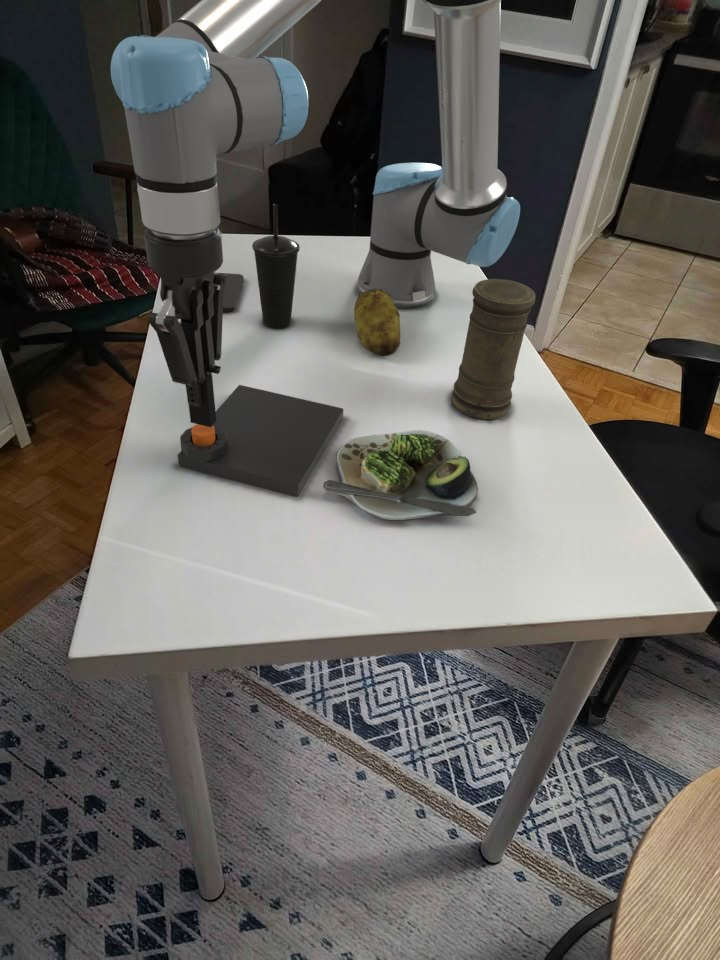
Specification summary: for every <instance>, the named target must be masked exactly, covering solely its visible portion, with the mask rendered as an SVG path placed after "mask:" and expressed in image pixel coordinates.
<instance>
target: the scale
mask: <svg viewBox="0 0 720 960" xmlns="http://www.w3.org/2000/svg"><path fill="white" fill-rule="evenodd" d="M215 411H216V422H215V423H214V424H213V426H214V428H215V439H216V440H215V442H214V444H211V445H209V446H198V445H195V444H194V443H193V440H192V431H191V429H192V427H190V428H186V429H185V430H184V432H182V434H181V435H180V436H179V439H180V440H179V441H180V442H179V443H180V449H181V450H180V452H178V454H177V462H178V467H179V468H184V469H188V470H191V471H196V472H200V473H203V474H207V475H212V476H215V477H218V478H223V479H227V480H229V481H234V482H238V483H243V484H246V485H250V486H252V487H253V486H254V487H259V488H260V489H261V488H262V489H266V490H269V491H273V492H276V493H281V494H285V495H288V496H293V497H299V496H300V494H301V492H302V491H303V488H304V487H305V485H306V483H307V482H308V480H309V478H311V477H310V476H311V475H312V473H313V471H314V470H315V468H316V466H317V465H318V463H319V461H320V459H321V457H322V456H323V454H324V453H325V451H326V450H327V448H328V445H329V444H330V443H331V441H332V440H333V437H334V436H335V434H336V432H337V431H338V429H339V427H340V425H341V423H342V421H343V420H344V408H343V407H339V406H334V405H331V404H326V403H322V402H318V401H317V402H316V401H312V400H308V399H304V398H299V397H295V396H290V395H285V394H282V393H278V392H273V391H270V390H269V391H268V390H264V389H259V388H256V387H251V386H248V385H242V384H239V385H237V386H236V388H235V389H234V390H233V391H232V393H230V395H228V397H227V398H226V399H225V400H224V401H223V402H222V404H221V405H220V406H219V407H218V408H217V409H216V410H215Z"/></svg>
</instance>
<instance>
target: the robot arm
mask: <svg viewBox="0 0 720 960" xmlns="http://www.w3.org/2000/svg"><path fill="white" fill-rule="evenodd" d="M321 2H322V0H200V1H198V3H196V4H195V5H193V7H191V8H190V9H189V10H188V11H186V12H185V13H184V14H182V15H181V16H180V17H179V18H178V19H177V20H175V22H173V23H171V24H170V25H169V26H168V27H166V28H165V29H164V30H163V31H161V32H160V33H159V34H157V35H156V36H151V35H150V36H149V35H144V34H141V35H139V36H137V35H133V36H128V37H126V38H124V39H123V40H121V41H120V42H119V43H118V44H117V46H116V47H115V49H114V51H113V53H112V56H111V61H110V77H111V82H112V86H113V88H114V89H113V90H114V91H115V93H116V96H117V97H118V98H119V100H120V101H121V102H122V106H123V108H124V114H125V120H126V126H127V133H128V138H129V144H130V151H131V156H132V157H131V158H132V163H133V169H134V175H135V181H136V185H137V190H136V191H137V194H138V200H139V207H140V216H141V222H142V224H143V226H144V227H145V230H143V239H144V245H145V252H146V260H147V263H148V266H149V268H151V269H152V270H153V272H155V274H157V275H158V277H159V278H160V290H159V296H160V300H161V301H162V304H161V306H160V309H159V312H158V313H157V312H154V311H153V312H150V313H149V316H148V323H149V325H150V326H151V327H152V329H153V330H154V331H155V332H156V336H157V338H158V341H159V344H160V347H161V350H162V353H163V357H164V360H165V362H166V366H167V368H168V372H169V375H170V377H171V381H172V382H173V383H177V384H180V385H185V391H186V399H187V405H188V413H189V420H190V423H191V424H194V425H196V424H199V425H203V426H207V427H212V425H213V424H214V423H215V422H216V411H217V410H216V402H215V392H214V391H215V390H214V381H213V374H217V375H218V374H220V372H221V369H222V366H221V365H216V361H218V362H219V361H220V360H221V358H222V348H223V347H222V345H223V343H222V342H223V317H224V311H223V295H224V290H225V285H226V276H225V275H222V274H217V273H218V272H217V271H218V270H219V269H221V267H222V265H223V263H224V255H223V254H224V253H223V240H222V231H221V229H220V228H219V226H220V224H221V221H222V220H221V211H220V200H219V199H220V198H219V188H218V170H217V169H218V167H217V165H218V164H217V156H219V155H220V156H221V155H224V154H228V153H233V152H239V151H245V150H249V149H255V148H259V147H264V146H271V147H272V146H275V145H278V144H279V143H281V142H284V141H287V140H290V139H293V138H295V137H296V136H298V135H299V134H300V133H301V131H302V130H303V128H304V126H305V124H306V122H307V119H308V115H309V93H308V87H307V84H306V82H305V79H304V78H303V75H302V73H301V72H300V71H299V69H298V68H297V67H296V65H295V64H293V62H291V61H289V60H288V59H285V58H284V57H268V56H265V55H262V53H264V51H266V50H267V49H268V48H269V47H270V46H271V45H273V44H274V43H275V42H276V41H278V39H279V38H281V37H282V36H283V35H284V34H285V33H286V32H288V30H290V29H291V28H292V27H293V26H294V25H295V24H297V23H298V22H299V21H300V20H301V19H302V18H304V16H305V15H307V13H309V12H310V11H311V10H313V9H314V8H315V7H316V6H317V5H318V4H319V3H321ZM422 2H423V3H424V4H426V5H427V6H428V7H429V8H430V9H431V10H432V11H433V21H434V40H435V41H434V42H435V56H436V57H435V58H436V75H437V76H436V77H437V92H438V93H437V94H438V111H439V129H440V131H439V132H440V133H439V134H440V148H441V149H440V151H441V166H440V165H438V164H435V163H430V162H429V163H427V162H400V163H393V164H389V165H386V166H383V167H382V168H380V169H379V170H378V171H377V173H376V175H375V180H374V181H375V182H374V187H373V192H372V195H373V200H372V211H371V212H372V213H371V223H370V224H371V226H370V238H369V249H368V253H367V255H366V257H365V260H364V262H363V264H362V268H361V269H360V272H359V275H358V278H357V282H356V283H357V285H356V287H357V288H356V291H357V293H358V294H359V295H360V294H361V293H362V292H364V291H368V290H371V289H382V290H383V291H385V292H387V293H388V294H390V295H391V297H392V299H393V303H394V305H395V306H396V307H397V309H412V308H419V307H422V306H425V305H428V304H429V303H430V302H432V301H433V299H434V298H435V293H436V280H435V275H434V269H433V264H432V259H431V257H432V255H431V254H432V252H434V253H436V254H438V255H442V256H445V257H447V258H451V259H452V260H453V259H454V260H457V261H459V262H463V263H465V264H466V265H474V266H477V267H481V268H488V267H490V266H493V265H494V264H495V263H497V262H498V260H500V258H501V257H503V255H504V254H505V252H506V250H507V249H508V247H509V245H510V243H511V241H512V240H513V237H514V235H515V233H516V230H517V228H518V224H519V220H520V215H521V205H520V202H519V201H518V200H517V199H515V197H513V196H511V197H509V196H507V188H508V187H507V184H508V183H507V178H506V175H505V174H504V173H503V171H501V170H500V169H499V168H498V164H499V163H498V160H499V159H498V158H499V157H498V153H499V112H500V111H499V108H500V105H499V103H500V101H499V100H500V60H501V59H500V57H501V56H500V54H501V53H500V52H501V11H502V10H501V9H502V8H501V6H502V5H501V4H502V3H501V2H502V0H422ZM214 272H215V273H214Z"/></svg>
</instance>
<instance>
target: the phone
mask: <svg viewBox="0 0 720 960" xmlns="http://www.w3.org/2000/svg"><path fill="white" fill-rule="evenodd" d="M214 273H217V274H222V275H225V276H226V285H225V290H224V295H223V312H228V313H229V312H233V311H234V310H235V308H236V306H237V303H238V299H239V296H240V294H241V290H242V287H243V284H244V281H245V279H244V277H245V276H244V275H243V274H241V273H231V272H230V273H229V272H216V271H215V272H214Z"/></svg>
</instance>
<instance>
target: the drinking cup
mask: <svg viewBox="0 0 720 960" xmlns="http://www.w3.org/2000/svg"><path fill="white" fill-rule="evenodd" d="M272 206H273V207H272V208H273V210H272V211H273V212H272V213H273V216H272V217H273V235H267V236H263V237H261V238H258V239H255V240H254V241H253V242H252V244H251V247H252V250H253V252H254V259H255V266H256V275H257V284H258V292H259V299H260V300H259V301H260V307H261V316H262V323H263V325H264V326H265V327H267V328H270V329H279V330H280V329H281V330H282V329H285V328H288V327H290V325H291V323H292V315H293V313H292V312H293V305H294V303H293V302H294V294H295V284H296V274H297V265H298V253H299V251H300V249H301V248H300V244H299V243H298V242H297V241H295V240H293V239H291V238H288V237H286V236H284V235H283V236H282V235H279V208H278V207H279V205H278V203H273V205H272Z"/></svg>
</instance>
